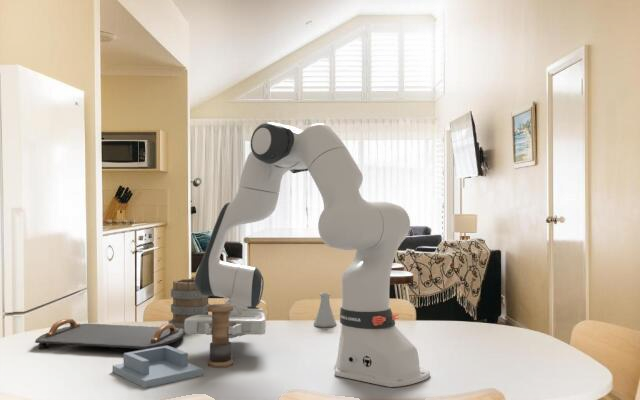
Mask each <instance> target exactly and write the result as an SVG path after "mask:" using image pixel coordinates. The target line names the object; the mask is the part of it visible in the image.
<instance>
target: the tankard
mask: <svg viewBox="0 0 640 400" xmlns="http://www.w3.org/2000/svg"><path fill="white" fill-rule="evenodd" d="M194 282H195V278H185V279H184V278H181V279H176V280H173V281H172V288H171V289H170V296H171V298H172V304H170V312H171V313H172V318H171V319H168V324H173V325H174V326H175V328H183V329H184V322H185V319H187V318H188V317H191V316H193V315H209V311H208V306H209V305H211V304H210V303H209V298H210V296H207V295H202V294H201V293H200V292H199V290H198V289H197V288H196V286H195V284H194Z"/></svg>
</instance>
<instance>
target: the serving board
mask: <svg viewBox="0 0 640 400" xmlns="http://www.w3.org/2000/svg"><path fill="white" fill-rule="evenodd" d="M67 324H69V326H64V327H62V326H63V325H67ZM59 327H62V328H59ZM186 334H187V333H185V331H184V329H183V328H175V326H174V325H173V324H169V323H165V324H163V325H161V326H146V325H145V326H144V325H126V324H100V323H78V322H76V320H74V319H73V318H63V319H61V320H58V321H56V322H55V323H53V324H52V325H51V327H50V329H49V331H48V332H46V333H44V334H42V335H40V336H39V337H37V338H36V339H35V340H34V343H36V344H38V345H37V348H38V349H40V350H43V349H47V346H48V344H51V345H62V346H63V345H66V346H67V345H68V346H83V347H99V348H100V347H102V348H116V349H117V348H122V349H123V348H124V349H134V350H135V349H137V350H145V349H150V348H156V347H162V346H167V345H169V344H172V343H174V342H177V341H178V340H183V339H184V337H185V335H186Z"/></svg>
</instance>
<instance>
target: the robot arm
mask: <svg viewBox="0 0 640 400" xmlns="http://www.w3.org/2000/svg"><path fill="white" fill-rule="evenodd" d="M250 149H251V152H249V154H248V155H247V157H246V160H245V161H244V164H243V165H244V166H243V168H242V171H241V176H240V179H239V184H238V189H237V192H236V194H235V196H234V198H233V199H232V200H231V201H229V202H226V203H225V204H224V205H223V206H222V208H221V210H220V212H219V214H218V216H217V219H216V222H215V223H214V227H213V229H212V232H211V235H210V238H209V240H208V243H207V246H206V248H205V251H204V254H203V257H202V259H201V261H200V263H199V266H198V268H197V269H196V271H195V275H194V279H195V282H194V284H195V286H196V288H197V289H198V290H199V292H200V293H201V294H202V295H207V296H209V297H219V298H225V299H228V300H227V301H225V303H223V304H231V305H233V310H232V311H229V327H228V331H229V332H228V335H229V339H234V338H237V337H242V336H245V335H247V336H248V335H259V336H260V335H265V334H266V330H267V329H266V322H267V319H266V315H265V312H264V308H263V307H258V305H259V304H260V303H261V299H262V296H263V291H264V282H265V281H264V277H263V275H262V273H261V271H260V270H259V268H258V267H257V266H256V267H255V266H249V265H245V264H239V263H233V262H229V261H224V260H221V254H222V252H223V249H224V246H225V244H226V241H227V238H228V237H229V236H228V235H229V233H230V232H231V230H233V229H234V228H235V227H238V226H241V225H246V224H252V223H257V222H261V221H263V220H265V219H267V218H269V217H270V216H271V215H272V214H273V213H274V212H275V210H276V206H277V203H278V200H279V195H280V189H281V183H282V182H281V181H282V178H283V176H284V175H285V174H286V173H287V172H288V171H290V173H292V174H297V173H300V172H302V173H303V172H309V174H310V176H311V177H312V180H313V181H314V184H315V185H316V188H317V189H318V191H319V194H320V195H321V198H322V201H323V210H322V211H321V214H320V215H319V219H318V224H317V227H318V228H317V229H318V234H319V236H320V238H321V240H322V242H323V243H324V244H325V245H326V246H327V247H329V248H333V249H337V250H344V251H353V250H354V251H355V250H356V251H355V255H354V257H353V260H352V262H351V263H350V265H349V266H348V267H347V268H346V269H345V270H344V271H343V272H342V277H341V307H340V309H339V322H340V324H341V328H340V329H341V330H340V335H339V342H338V343H339V344H338V351H337V358H336V361H335V366H334V375H335V376H336V377H341V378H346V379H350V380H355V381H359V382H360V381H361V382H365V383H371V384H374V385H378V386H384V387H387V388H388V387H389V388H393V387H394V388H395V387H397V388H398V387H404V386H409V385H413V384H417V383H419V382H423V381H425V380H427V379H428V378H429V377H430V375H431V373H430V372H431V371H430V370H429V369H427V368H423V367H421V366H420V358H419V352H418V349H417V347H416V346H415V345H414V344H413V343H412V342H411V341H410V340H409V339H408V338H407V337H406V336H405V334H403V332H401V331H400V330H399V328H398V327H397V325H396V321H395V320H398V319H399V313H394V314H393V312H392V309H391V307H390V287H391V285H390V283H391V274H392V273H391V272H392V268H393V264H394V260H395V257H396V255H397V252H398V249H399V248H400V246H401V245H402V243H403V242H404V240H405V239H406V238H407V237H408V235H409V233H410V230H411V220H410V216H409V214H408V212H407V211H406V209H404V207H402V206H400V205H398V204H395V203H392V202H388V201H367V200H365V199H364V198H363V197H362V195H361V193H360V188H361V187H362V183H363V177H364V176H363V173H362V171H361V170H360V168H359V166H358V165H357V163H356V161H355V160H354V158H353V156H352V155H351V153H350V151H349V149H348V148H347V146H346V145H345V143H344V141H342V140H341V138H340V137H339V135H338V134H337V133H336V132H335V131H334V130H333V129H332V128H331V127H330V126H329V125H328V124H325V123H321V122H320V123H313V124H310V125H309V126H307V127H306V128H304V129H300V128H297V127H295V126H292V125H287V124H281V123H277V122H264V123H260V124H259V125H258V126H257V127H256V128H255V129H254V130H253V133H252V134H251V138H250ZM184 331H185V333H186V334H187V335H193V334H194V335H207V336H212V314H208V315H193V316H191V317H188V318H187V319H185V322H184Z"/></svg>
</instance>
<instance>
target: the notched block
mask: <svg viewBox="0 0 640 400" xmlns="http://www.w3.org/2000/svg"><path fill="white" fill-rule="evenodd" d="M188 354H189V353H188V352H186V351H183V350H181V349H178V348H176V347H173V346H170V345H163V346H160V347H156V348H150V349H138V350H134V351H128V352H124V353H123V363H119V364H113V365H112V373H114V374H115V375H118V376H120V377H122V378H124V379H126V380H127V381H130V382H131V383H134V384H135V385H138V386H140V387H142V388H144V389H147V388H152V387H156V386H160V385H165V384H168V383H170V384H171V383H174V382H177V381H178V382H179V381H182V380H187V379H191V378H192V379H193V378H195V377H199V376H200V377H201V376H203V375H204V373H203V371H204V369H203V368H202V367H199V366H198V365H195V364H193V363H190V362H188V361H189V355H188Z"/></svg>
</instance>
